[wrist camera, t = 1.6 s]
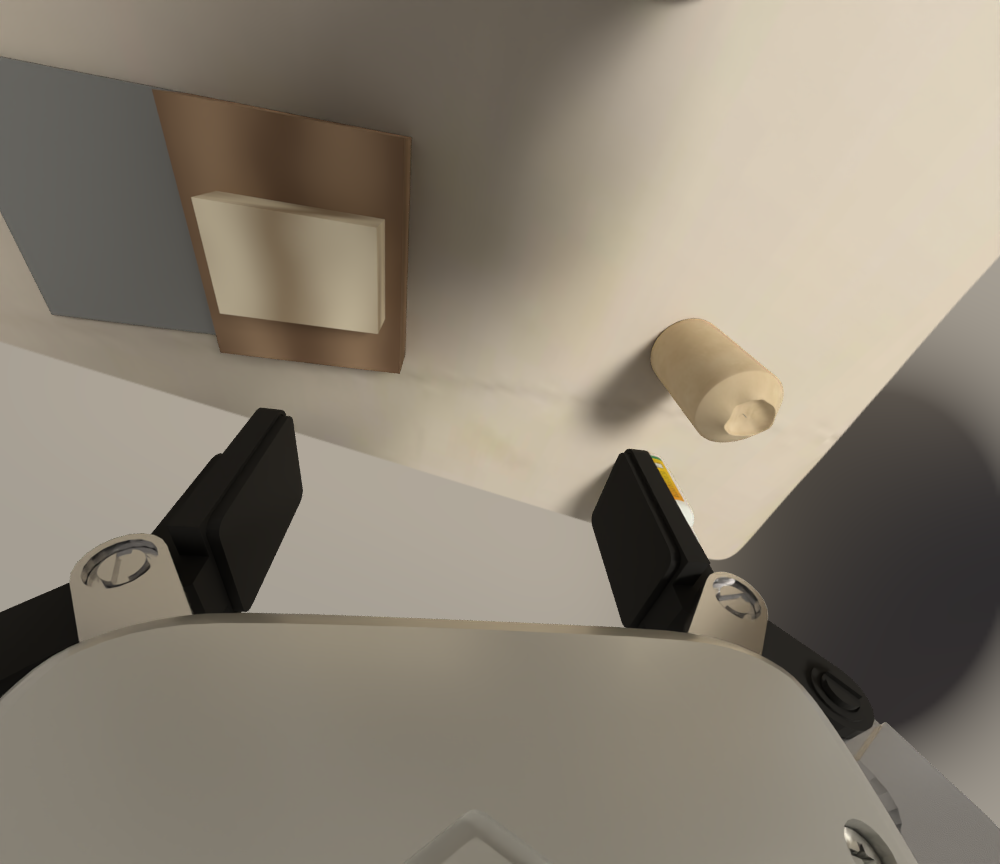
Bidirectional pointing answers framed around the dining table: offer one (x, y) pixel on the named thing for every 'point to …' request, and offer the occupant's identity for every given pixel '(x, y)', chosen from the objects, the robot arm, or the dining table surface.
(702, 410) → the candle
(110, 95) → the mat
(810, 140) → the dining table surface
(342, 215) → the tile
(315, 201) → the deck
